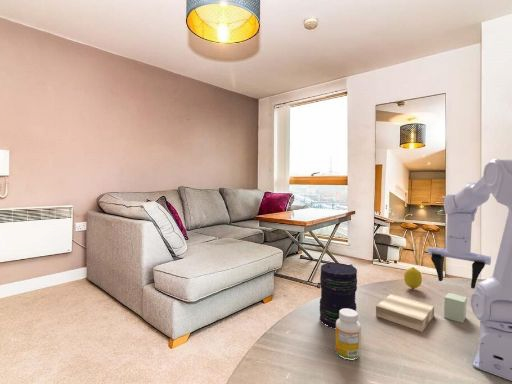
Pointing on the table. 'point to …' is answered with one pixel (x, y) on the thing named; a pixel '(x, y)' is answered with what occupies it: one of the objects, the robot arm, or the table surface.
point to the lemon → (413, 278)
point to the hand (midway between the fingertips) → (456, 283)
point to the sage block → (455, 307)
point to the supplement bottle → (348, 334)
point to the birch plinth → (405, 312)
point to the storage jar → (336, 291)
